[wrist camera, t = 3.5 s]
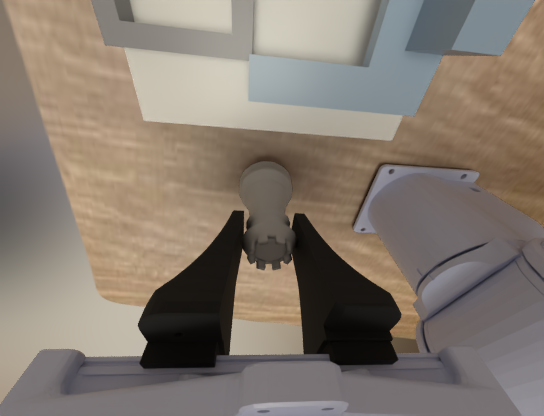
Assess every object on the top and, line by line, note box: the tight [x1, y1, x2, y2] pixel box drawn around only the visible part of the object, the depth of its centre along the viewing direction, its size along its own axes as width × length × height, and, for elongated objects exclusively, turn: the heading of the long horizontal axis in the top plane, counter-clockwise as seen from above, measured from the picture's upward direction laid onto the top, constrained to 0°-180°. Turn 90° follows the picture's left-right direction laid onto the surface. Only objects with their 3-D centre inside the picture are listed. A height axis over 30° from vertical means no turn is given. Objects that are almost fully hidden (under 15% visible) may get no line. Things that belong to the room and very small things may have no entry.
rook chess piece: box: [239, 161, 297, 270], centre depth 14 cm, size 4×4×8 cm
